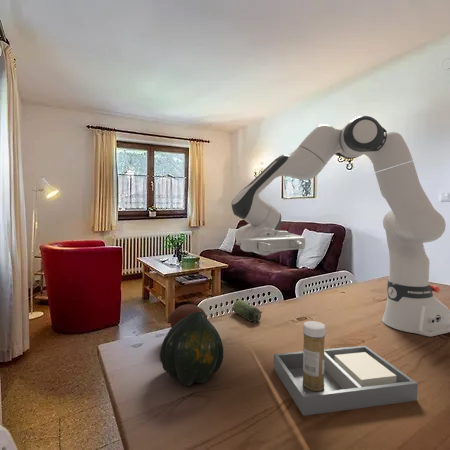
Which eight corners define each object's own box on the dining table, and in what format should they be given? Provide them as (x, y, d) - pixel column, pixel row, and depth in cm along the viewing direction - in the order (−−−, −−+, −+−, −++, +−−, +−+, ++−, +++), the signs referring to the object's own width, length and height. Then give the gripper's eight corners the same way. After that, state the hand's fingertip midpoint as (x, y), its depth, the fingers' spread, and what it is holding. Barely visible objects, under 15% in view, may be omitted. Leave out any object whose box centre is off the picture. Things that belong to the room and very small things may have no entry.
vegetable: (230, 312, 109) (230, 299, 109) (242, 310, 112) (242, 297, 112) (252, 326, 97) (252, 311, 97) (265, 323, 100) (265, 308, 100)
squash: (149, 375, 59) (197, 314, 62) (147, 344, 74) (186, 296, 76) (202, 411, 62) (246, 352, 65) (190, 375, 77) (226, 328, 79)
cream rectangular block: (364, 366, 71) (365, 352, 71) (395, 392, 61) (396, 375, 61) (334, 369, 69) (334, 355, 69) (360, 396, 60) (361, 379, 59)
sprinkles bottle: (328, 387, 62) (330, 325, 62) (314, 395, 60) (315, 330, 59) (311, 377, 66) (312, 318, 65) (297, 383, 64) (298, 322, 63)
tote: (364, 362, 74) (365, 345, 74) (416, 405, 58) (417, 383, 58) (273, 372, 70) (273, 354, 70) (303, 420, 54) (303, 397, 54)
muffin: (189, 328, 95) (189, 297, 95) (215, 338, 88) (215, 305, 88) (159, 341, 86) (159, 307, 85) (185, 353, 79) (185, 316, 78)
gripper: (233, 232, 92) (252, 236, 79) (290, 230, 99) (316, 234, 86) (233, 252, 92) (252, 260, 79) (289, 249, 99) (316, 255, 86)
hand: (286, 246), depth 82 cm, fingers open, 8 cm apart
